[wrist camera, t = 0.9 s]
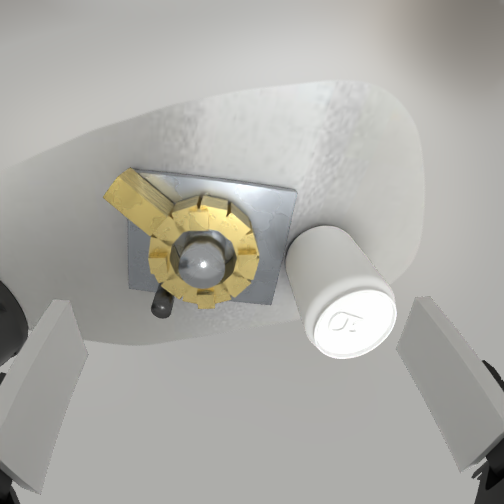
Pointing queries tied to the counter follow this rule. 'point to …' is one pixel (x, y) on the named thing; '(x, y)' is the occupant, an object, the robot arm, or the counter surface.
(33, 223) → the counter surface
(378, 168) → the counter surface
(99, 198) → the counter surface
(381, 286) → the beverage can
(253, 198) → the plate
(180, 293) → the segmented ring with handle
